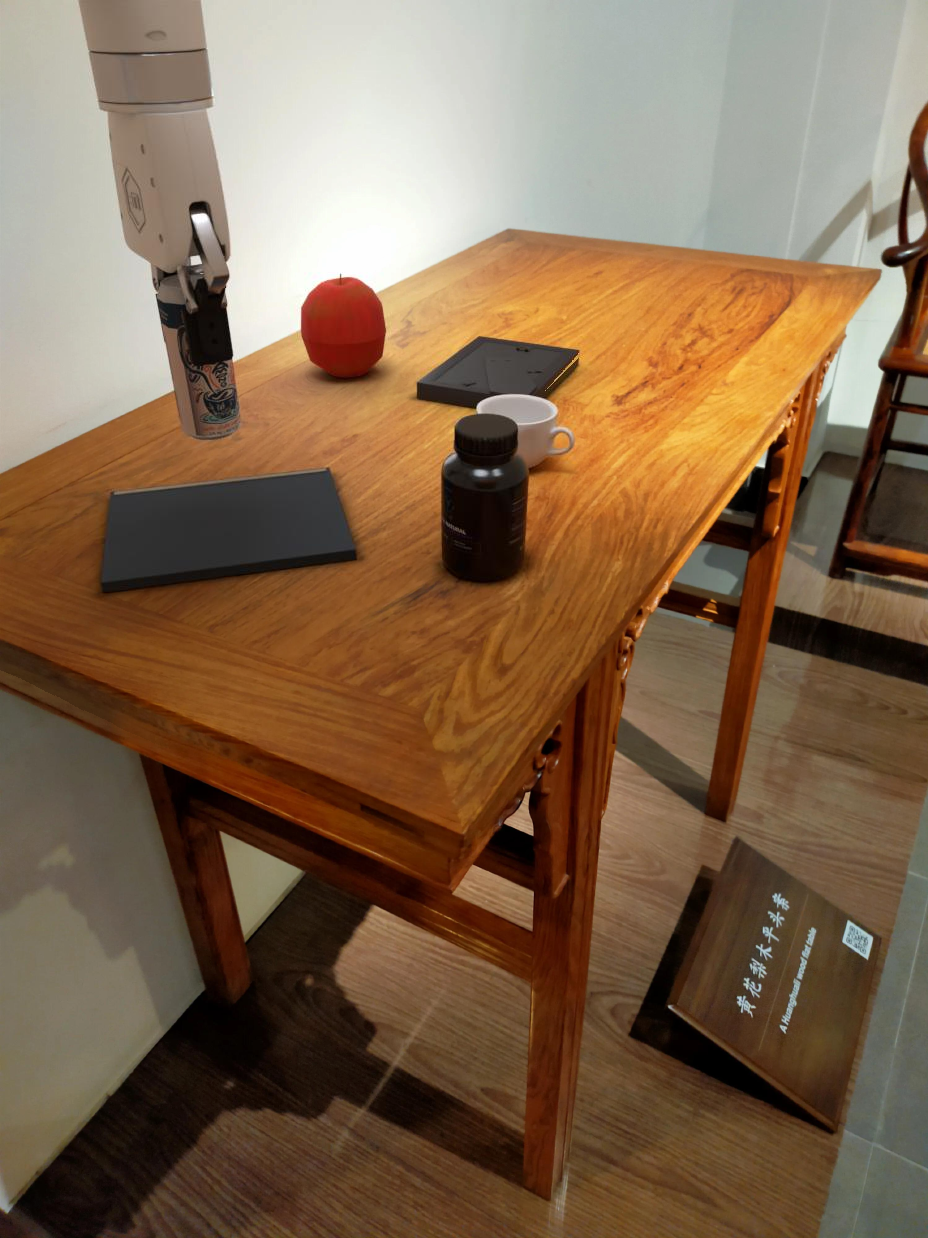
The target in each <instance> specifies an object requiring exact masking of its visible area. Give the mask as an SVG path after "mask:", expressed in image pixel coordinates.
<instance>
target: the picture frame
mask: <svg viewBox="0 0 928 1238" xmlns="http://www.w3.org/2000/svg"><path fill="white" fill-rule="evenodd" d="M578 353H579V354H580V349H575V348H568V347H562V346H553V345H547V344H541V343H532V342H525V341H518V340H511V339H503V338H497V337H490V336H483V335H482V336H481V335H479V336H477V337H476V338H474V339H473V340H472V341H470V342H469V343H468V344H466V345H465V346H464V347H462V348H461V349H459V350H458V351H457V352H455V353H454V354H453V355H451V356H450V357H449V358H447V359H446V360H444V361H443V362H442V363H440V364H439V365H437V367H435V368H434V369H432V370H430V372H429V373H427V374H425V375H424V376H423V377H422V378H420V379H419V380H417V381H416V398H417V399H420V400H425V401H431V402H436V403H443V404H448V405H454V406H459V407H466V408H470V409H471V408H472V409H477V405H478V404H479V403H480V402H481V401H483V400H485V399H487V398H490V397H493V396H499V395H508V394H520V395H530V396H535V397H539V398H543V399H545V400H546V398H547V397H548V396H549V395H550V394H551V393H552V392H554V390H555V389H557V387H558V386H559V385H560V384H561V383H562V382H563V381H564V380H565V379H566V378H567V377H568V376H569V375H570V374H571V373H572V372H573V371H574V370H575V369H577V367H578V366H579V363H580V357H579V358H578V359H577V360H576V361H575V362H574V363H573V364H572V365H571V366H570V367H569V368H568V369H567V370H566V371H565V372H564V373H563V374H562V375H561V376H560V377H559V378H558V379H557V380H556V381H555V382H554V380H555V379H556V378H557V377H558V376H559V375H560V374H561V373H562V372H563V370H565V368H566V367H567V366H568V365H569V364H570V363H571V362H572V360H574V358H575V357H576V356H577V355H578ZM553 382H554V383H553ZM552 383H553V384H552ZM551 384H552V385H551ZM550 385H551V386H550ZM549 386H550V387H549ZM548 387H549V388H548ZM547 388H548V389H547ZM545 390H546V391H545Z"/></svg>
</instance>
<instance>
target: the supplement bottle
mask: <svg viewBox="0 0 928 1238" xmlns="http://www.w3.org/2000/svg"><path fill="white" fill-rule="evenodd" d="M453 429H454V430H453V432H454V433H453V450H454V451H452V452H451V453H450V454H449V455H448V456H447V457H446V458H445V459H444V461H443V463H442V466H441V470H440V471H441V472H440V508H441V509H440V516H441V517H440V520H441V522H440V530H441V531H440V533H441V534H440V538H441V539H440V540H441V545H440V546H441V559H442V562H443V564H444V566H445V567H446V568H447V569H448V570H449V571H450V572H451V573H452V574H454V575H456V576H457V577H461V578H463V579H466V580H469V581H476V582H491V581H499V580H501V579H505V578H508V577H510V576H512V575H513V574H515V573H516V572H517V571H519V569H520V568H521V567H522V565H523V563H524V561H525V553H526V536H527V521H528V520H527V518H528V501H529V486H530V485H529V483H530V468H529V469H528V466H527V463H526V462H525V460H524V459H523V457H522V456H521V455H520V454H518V453H517V451H518V426H517V424H516V422H515V421H513V420H512V419H510V418H508V417H505V416H502V415H498V414H489V413H485V414H484V413H481V414H476V413H474V414H469V415H465V416H463V417H461V418H460V419H457V421H455V424H454V428H453Z"/></svg>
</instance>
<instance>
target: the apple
mask: <svg viewBox="0 0 928 1238" xmlns="http://www.w3.org/2000/svg"><path fill="white" fill-rule="evenodd" d="M300 335H301V338H302V342H303V345H304V347H305V350H306V354H307V356H308V358H309V362H311V363H312V364H314V365H315V366H317V367H318V368H320V369H322V370H323V371H325V372H326V373H328V374H329V375H331V376H333V377H337V378H345V379H346V378H356V377H361V376H363V375H366V374H367V373H368V372H369V371H371V369H372V368H373V367H374V366H375V365H376V364H377V363H378V362H379V361H380V360H381V359H382V358H383V355H384V348H385V342H386V335H387V327H386V320H385V314H384V307H383V302H382V301H381V299H380V298H379V296H378V295H377V293H376V292H375V290H374V289H373V288H372V287H370V286H369V285H368V284H366V282H364V281H362V280H361V279H359V278H357V277H352V276H343V277H342V273H340V274H339V277H336V278H331V279H326V280H324V281H321V282H320V283H319V284H317V285H316V286H314V288H313V289H312V290H310V291H309V292H308V293H307V295H306V298H305V299H304V302H303V303H302V305H301V307H300Z"/></svg>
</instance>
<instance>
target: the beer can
mask: <svg viewBox="0 0 928 1238" xmlns="http://www.w3.org/2000/svg"><path fill="white" fill-rule="evenodd" d="M202 274H203V273H200V274H194V275H191V279H192V283H193V287H194V290H195V286H196V282H197V279H201V278H203V275H202ZM156 294H157V300H156V302H157V301H158V305H157V307H158V306H159V311H158V313H159V312H160V316H159V318H160V317H161V321H160V323H161V322H162V327H161V329H162V328H163V332H162V334H163V333H164V337H163V339H164V338H165V342H164V344H165V349H166V355H167V359H168V365H169V369H170V370H169V371H170V375H171V381H172V387H173V392H174V396H175V403H176V406H177V407H176V408H177V412H178V418H179V423H180V429H181V431H182V432H183V434H185V435H186V436H188V437H191V438H194V439H195V440H200V441H216V440H221V439H225V438H227V437H229V436H231V435H233V433H235V432H237V431H238V430H239V429H240V427H241V426H242V422H243V421H242V415H241V408H240V407H241V406H240V401H239V395H238V387H237V381H236V374H235V366H234V361H233V358H232V359H231V360H228V361H223V362H218V363H213V364H209V365H204V366H199V367H197V366H195V365H193V364H192V363H191V361H190V355H189V349H188V344H187V338H186V332H185V326H184V321H183V315H182V312H184V311H187V308H186V305H185V301H184V297H183V293H182V289H181V285H180V281H179V277H178V274H177V275H174V276H170V277H166V278H164V279H163V280H162V281H161V282H160V287H159V290H158V292H156Z"/></svg>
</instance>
